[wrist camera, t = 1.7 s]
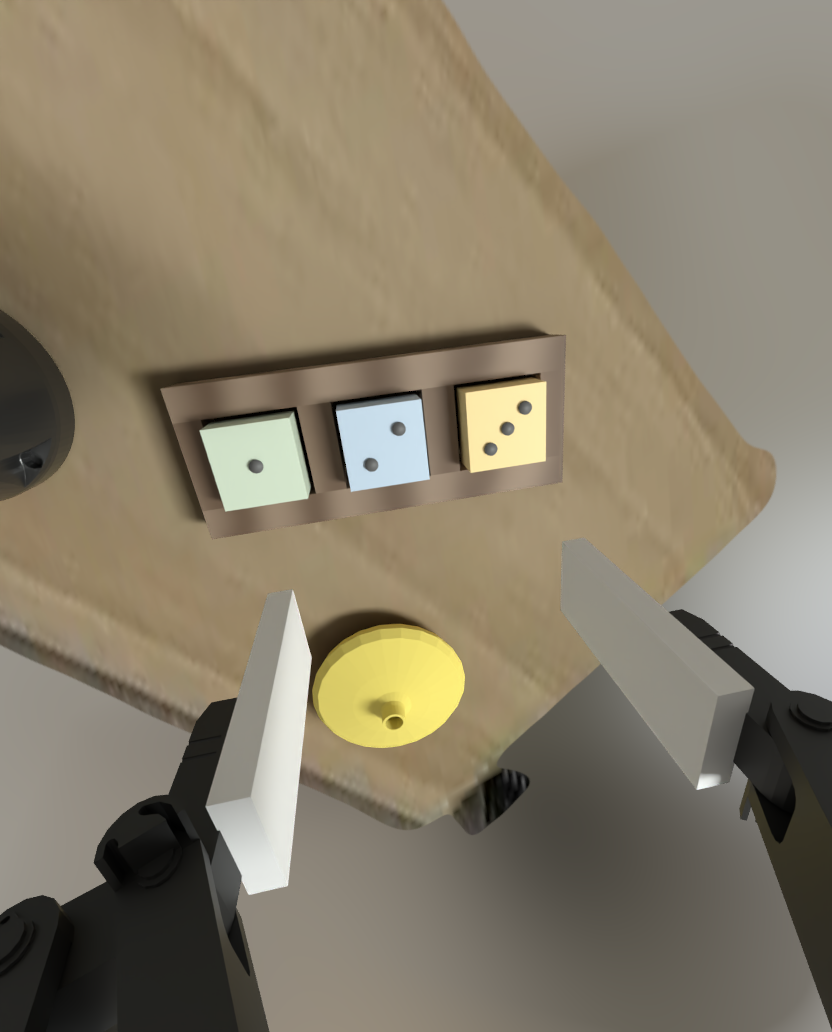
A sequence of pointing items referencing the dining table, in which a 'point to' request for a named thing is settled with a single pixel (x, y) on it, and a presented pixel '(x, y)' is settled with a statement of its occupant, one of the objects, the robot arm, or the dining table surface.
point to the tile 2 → (383, 441)
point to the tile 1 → (257, 460)
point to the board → (368, 378)
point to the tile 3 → (502, 424)
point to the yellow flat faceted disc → (388, 685)
